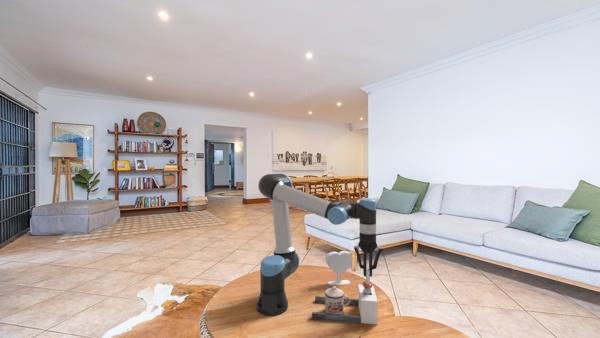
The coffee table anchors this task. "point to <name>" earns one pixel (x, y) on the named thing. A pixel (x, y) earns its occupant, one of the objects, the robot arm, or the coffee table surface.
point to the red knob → (367, 288)
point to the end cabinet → (368, 306)
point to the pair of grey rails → (336, 316)
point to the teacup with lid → (335, 301)
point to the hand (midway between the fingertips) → (367, 283)
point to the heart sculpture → (339, 265)
